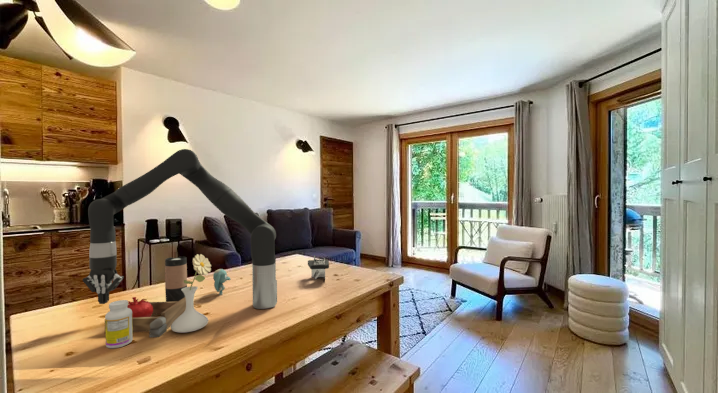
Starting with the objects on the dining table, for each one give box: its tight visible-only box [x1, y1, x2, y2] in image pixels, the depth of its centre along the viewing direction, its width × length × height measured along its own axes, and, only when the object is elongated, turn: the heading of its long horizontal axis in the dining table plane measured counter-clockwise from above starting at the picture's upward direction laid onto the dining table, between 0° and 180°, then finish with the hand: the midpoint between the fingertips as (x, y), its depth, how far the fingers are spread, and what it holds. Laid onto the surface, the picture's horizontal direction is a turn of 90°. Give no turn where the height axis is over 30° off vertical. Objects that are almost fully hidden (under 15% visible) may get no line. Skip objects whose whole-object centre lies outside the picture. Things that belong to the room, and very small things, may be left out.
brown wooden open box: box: [132, 297, 186, 338], centre depth 111 cm, size 20×21×6 cm
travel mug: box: [164, 256, 188, 302], centre depth 127 cm, size 8×8×20 cm
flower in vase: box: [170, 253, 212, 334], centre depth 108 cm, size 13×11×25 cm
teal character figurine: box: [212, 268, 231, 296], centre depth 142 cm, size 11×7×12 cm
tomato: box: [127, 296, 153, 318], centre depth 113 cm, size 10×10×9 cm
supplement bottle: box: [104, 299, 134, 349], centre depth 96 cm, size 7×7×13 cm
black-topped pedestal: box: [307, 255, 330, 280], centre depth 163 cm, size 28×26×13 cm
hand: (103, 303), depth 112 cm, fingers closed
